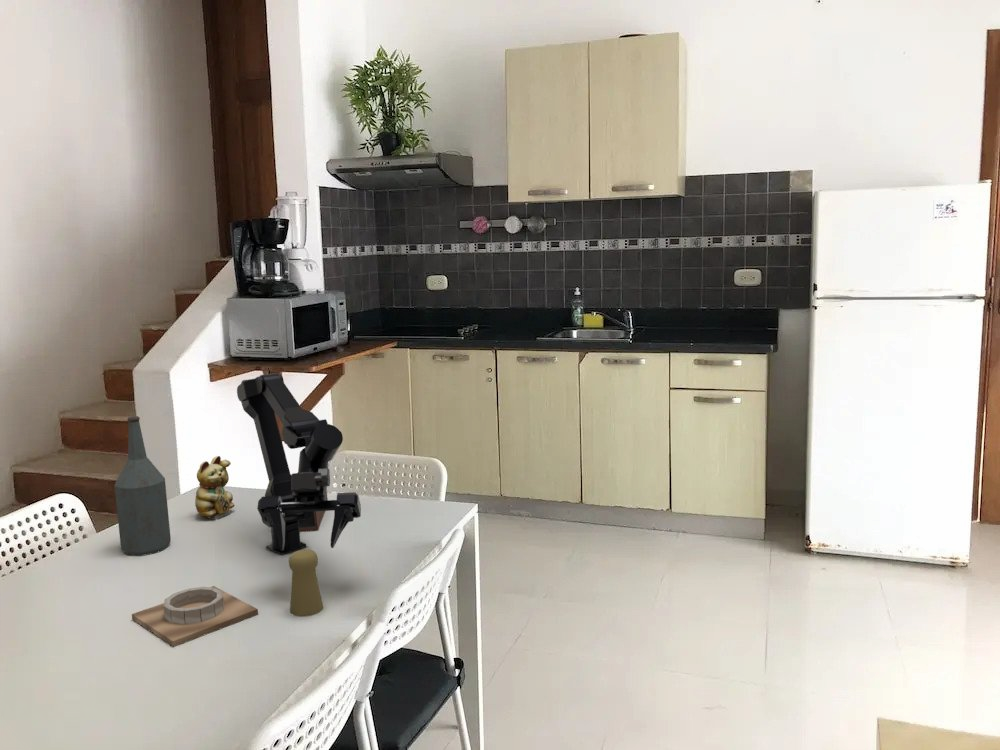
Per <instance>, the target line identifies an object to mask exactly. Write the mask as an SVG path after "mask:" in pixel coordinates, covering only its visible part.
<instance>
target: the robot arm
mask: <svg viewBox="0 0 1000 750" xmlns="http://www.w3.org/2000/svg"><path fill="white" fill-rule="evenodd" d="M236 394H237V395H236V396H237V398H238V401H240V403H241V406H242V409H243V411H244V412H245V413H246V414H247V415H248V416H249V417H250V418H251V419H253V421H254V425H255V430H256V434H257V438H258V443H259V446H260V450H261V454H262V458H263V462H264V465H265V466H264V467H265V469H266V474H267V479H268V484H267V487H266V490H265V494H264V496H261V498H260V499H259V500H258V502H257V510H258V513H259V515H260V518H261V522H262V523H263V524H264V525H265V526H266V527H268V528H270V533H271V534H270V535H271V544H268V545H265V548H266V549H267V550H269V551H271V552H274V553H276V554H279V555H285V554H288V553H291V552H292V553H293V552H295V551H298V550H302V549H303V548H306V547H307V544H306V543H303V542H302V541H301V535H300V534H301V532H300V531H299V522H298V521H299V520H305V519H306V517H307V512H311V511H325V512H329V511H332V512H333V511H334V515H333V521H332V522H333V523H332V527H331V528H332V529H331V534H330V548H331V549H333V548H335V546H336V544H337V542H338V540H339V538H340V536H341V534H342V532H343V531H344V529H345V528H346V527H347V526H348V524H349V523H351V522H354V520H355V519H357V518H360V517H361V515H362V507H361V506H362V505H361V501H360V497H359V494H357V492H355V491H353V492H337V494H336V499H328V500H326V491H327V492H328V489H327V488H328V487H329V486H331V473H330V469H329V462H331V460H333V459H334V457H335V455H336V453H337V452H338V450H339V449H340V447H341V445H342V444H343V440H344V439H343V433H342V431H341V430H340V429H339V428H338V427H336V426H335V425H332V424H330V423H328V421H327V419H326V418H324V419H319V418H318V417H317V416H316V415H315V413H313V412H312V411H309V410H306V409H304V408H302V407H301V405H300V404H299V403H298V401H297V399H296V398H295V397H294V395H293V394H292V392H291V390H289V388H288V386H287V385H286V383H285V382H284V377H283V375H282V374H281V373H278V372H277V373H276V372H275V373H267V374H266V373H265V374H261V375H259V376H256V377H255V378H251V379H250V378H249V379H243V380H241V382H240V384H239V385H238V386H237V388H236ZM276 416H277V417H276ZM277 418H278V420H279V421H280V422H281V424H282V428H281V433H280V428H279V424H278V420H277ZM281 436H282V437H281ZM283 443H284V444H285V445H286V446H287V448H289V449H290V450H293V449H294V450H295V449H299V448H301V450H300V451H299V457H298V470H297V472H293V473H291V470H290V467H289V464H288V460H287V456H286V451H285V448H284V444H283Z"/></svg>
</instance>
